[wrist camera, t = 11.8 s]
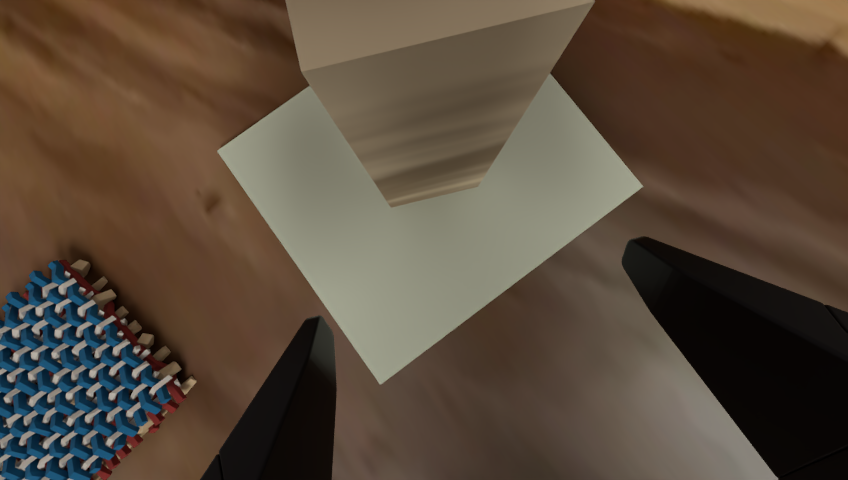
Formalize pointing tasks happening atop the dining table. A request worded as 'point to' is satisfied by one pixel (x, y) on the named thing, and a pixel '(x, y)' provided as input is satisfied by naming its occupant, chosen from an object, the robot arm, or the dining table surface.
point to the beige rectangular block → (429, 80)
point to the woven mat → (76, 380)
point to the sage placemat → (423, 220)
